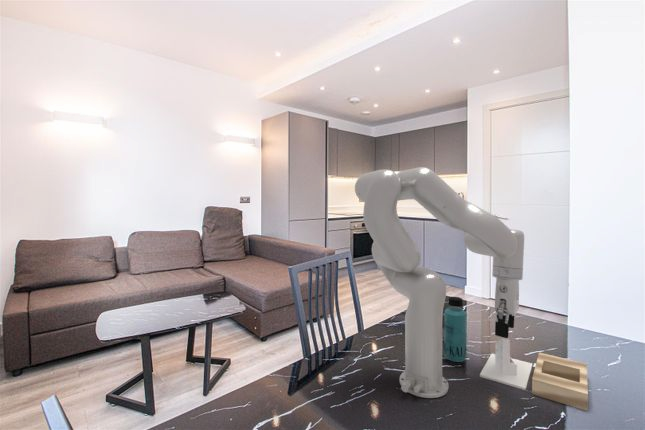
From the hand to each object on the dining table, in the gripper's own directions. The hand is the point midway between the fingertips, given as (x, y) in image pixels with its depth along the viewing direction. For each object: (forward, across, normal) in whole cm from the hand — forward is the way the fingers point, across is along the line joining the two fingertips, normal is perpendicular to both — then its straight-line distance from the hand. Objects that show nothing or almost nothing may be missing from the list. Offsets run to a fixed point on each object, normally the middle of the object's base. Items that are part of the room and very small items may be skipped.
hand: (504, 331), depth 93 cm
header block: (+11, +1, -13) cm, 18 cm away
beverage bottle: (+12, -2, +13) cm, 18 cm away
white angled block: (+11, 0, -1) cm, 11 cm away
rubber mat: (+12, +1, -1) cm, 12 cm away
